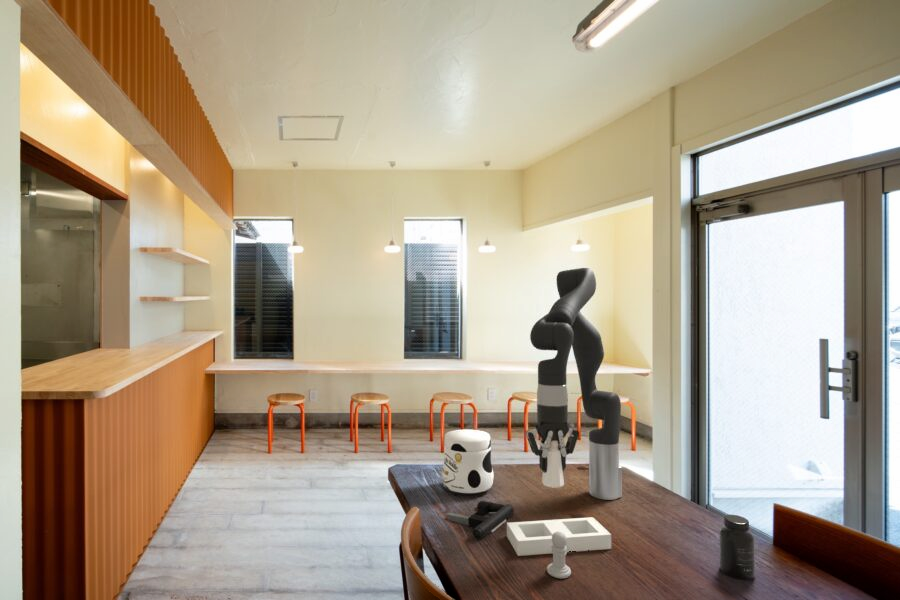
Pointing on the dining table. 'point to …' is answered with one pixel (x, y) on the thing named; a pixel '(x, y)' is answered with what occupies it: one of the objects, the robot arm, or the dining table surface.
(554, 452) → the salt shaker
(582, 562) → the dining table surface
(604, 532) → the rail
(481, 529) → the door handle
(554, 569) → the chess piece
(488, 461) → the milk container
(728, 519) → the supplement bottle
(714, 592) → the dining table surface
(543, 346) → the robot arm
